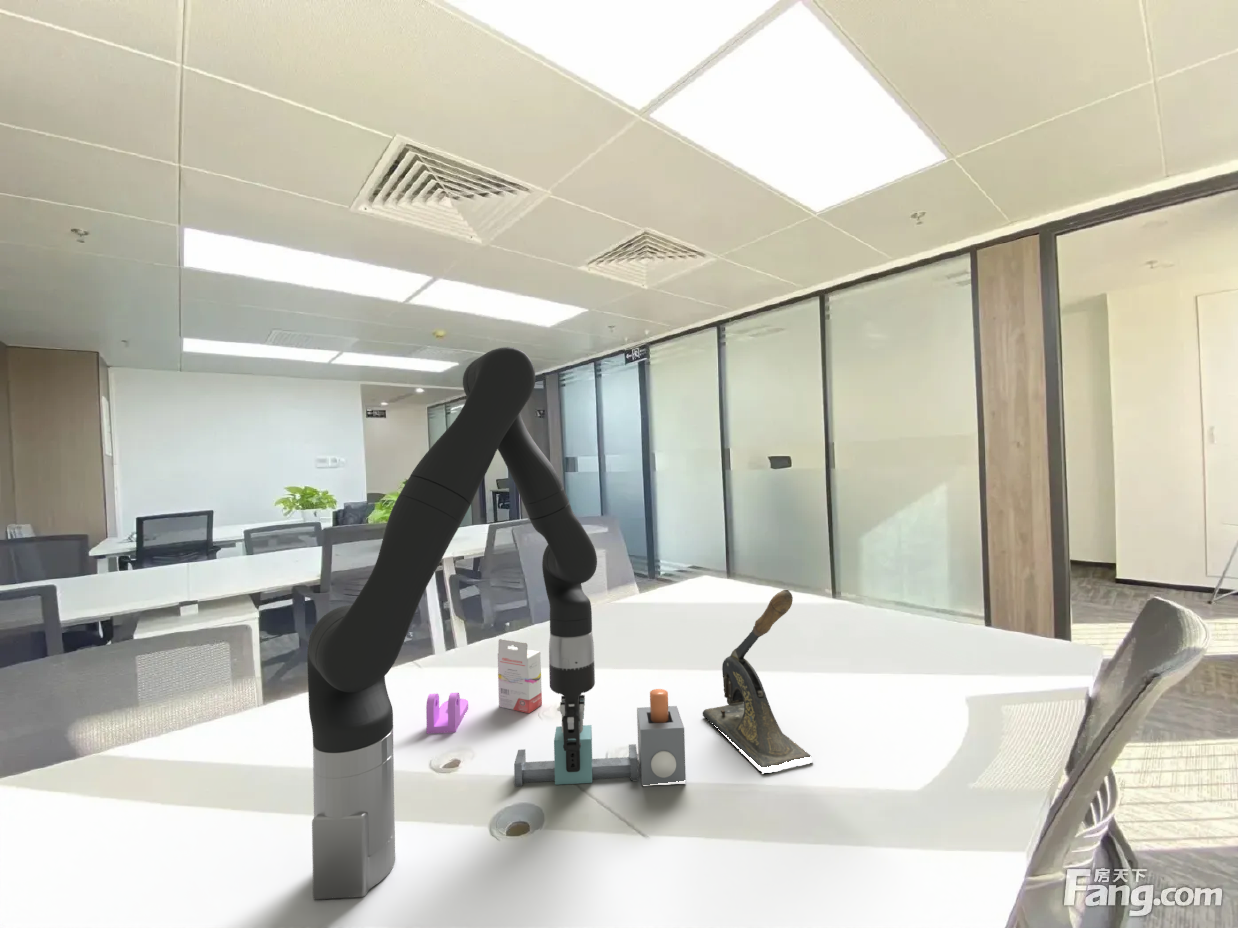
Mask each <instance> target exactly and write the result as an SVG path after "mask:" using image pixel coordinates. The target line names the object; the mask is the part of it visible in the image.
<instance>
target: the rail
mask: <svg viewBox="0 0 1238 928" xmlns="http://www.w3.org/2000/svg"><path fill="white" fill-rule="evenodd" d="M515 756H516V757H515V760H514V766H513V768H514V769H513V770H514V771H513V773H514V774H513V775H514V776H513V777H514V778H513V779H514V787H523V784H524V783H538V782H539V783H541V782H542V783H543V782H555V762H554V760H544V761H527V760H526V759H527V758H526V748H525V749H518V750H517V752H516V755H515ZM624 777H625V778H630V781H631V780H636V781H639V760H638V749H637V744H635V743H633V744H628V756H625V757H623V756H622V757H603V758H592V780H602V779H603V780H604V779H605V780H606V779H618V778H619V779H621V778H624Z"/></svg>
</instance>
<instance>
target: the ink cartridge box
mask: <svg viewBox="0 0 1238 928" xmlns="http://www.w3.org/2000/svg"><path fill="white" fill-rule="evenodd" d="M497 646H498V647H497V648H498V649H497V677H498V678H497V679H498V681H497V682H498V707H499V708H504V709H508V710H513V711H517V712H521V713H525V714H530V713H532V712H533V711H535V710H537V709H538V708H540V707H541V706H543V697H542V696H543V695H542V693H543V692H542V689H543V688H542V663H541V651H538V650H532V649H528V643H527V642H521V641H515V640H509V639H502V638H499V639H498V645H497Z"/></svg>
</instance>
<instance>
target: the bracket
mask: <svg viewBox="0 0 1238 928" xmlns="http://www.w3.org/2000/svg"><path fill="white" fill-rule="evenodd" d="M460 697H461V695H460V693H459V692H450V693H449V695H448V699H447V700H446V701H444V702H442V704H441V705H440V695H439V694H438V693H429V694H428V696H427V699H426V706H425V707H426V709H425V710H426V716H425V717H426V734H427V735H428V734H447V733H457V730H458V728H459V727H460V725H461V723H462V721H463V719H464V717H465V716H466V714H467V712H468V710H469V701H468V700H467V699H466V698H460ZM465 713H466V714H465ZM464 715H465V716H464Z"/></svg>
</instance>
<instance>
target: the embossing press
mask: <svg viewBox="0 0 1238 928" xmlns="http://www.w3.org/2000/svg"><path fill="white" fill-rule="evenodd" d="M793 598H794V597H793V594H792V593H791V591H790V590H789V589H783V590H780V591H779V592H778V593H776V594H775V595H774V596H772V598H771V600H770V601H769V603H768V605H767V607H766V609H765V610H764V612H763V613H762V614H761V616H760V617H758V618H757V619H756V620H755V622H754V625H753V629H751V632H749V634H748V635H747V636H746V637H745V638H744V639H743V641H742V642H741V643H740V644H739V645H738V646H737V647H735V649H733V650H732V651H731V654H730V655H729V656H727V657H726V658H724V660H723V662H722V667H721V671H722V680H723V692H724V694H723V695H724V698H726V703H727V704H726V705H723V706H722V705H721V706H717V707H711V708H705V709H703V711H702V716H703V718H704V719H706V718H707V719H708V720H709V721H710V722H711V723H713V724H714V725H715V726H716V727H718V729H719V730H720V731H721V732H723V733H724V734H725V735H727V737H729V739H731V741H732V742H734V743H735V744H736V745H737V746H738V747H739V748H740V749H742V750H743V751H744V752H745V753H746V754H747V755H748V756H749V757H751V758H752V759H753V760H754V761H755V762H756V763H757V764H758V765H760V766H761V767H767V766H768V767H769V766H771V765H779V764H782V763H784V762H786V761H787V762H789V761H791V760H794V759H800V758H804V757H810V756H811V755H810V754H809V753H808V752H807V751H806V750H804V748H802V747H801V746H800V745H798V744H797V743H796V742H795V743H794V741H793V740H792V739H790V737H789V736H787V735H786V734H784V733H783V731H782V730H781V728H780V726H779V724H778V722H777V720H776V718H775V715H774V713H773V711H772V708H771V705H770V703H769V700H768V697H767V694H766V691H765V689H764V687H763V683H762V681H761V679H760V677H759V675H758V673H757V671H756V670H755V669H754V667H753V666H752V665H751V663H750V662H749V661H748V660H747V659H746V658H745V656H746V654H747V653H748V652H749V651H750V649H751V648H752V646H754V644H755V643H756V642H757V641H758V639H759V638H760V637H762V636H764V635H766V634H767V633H769V632H770V630H771V628H772V626H773V625H775V623H776V622H777V621H778V620H779V619H780V618H782V617H783V616H784V615H786V614H787V612H788V611H789V610H790V609H791V607H792V605H793V601H794V600H793ZM707 719H706V720H707ZM708 720H707V721H708ZM709 721H708V722H709ZM710 722H709V723H710ZM711 723H710V724H711ZM805 751H806V752H805Z"/></svg>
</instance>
